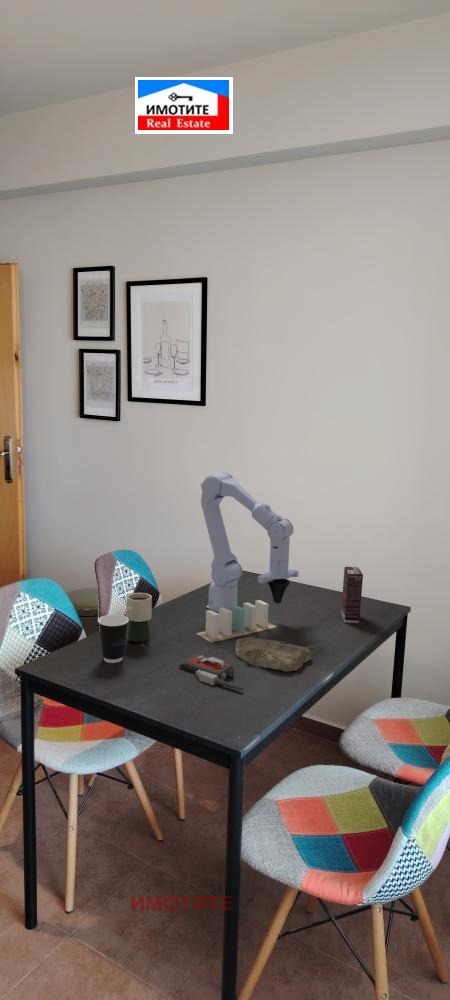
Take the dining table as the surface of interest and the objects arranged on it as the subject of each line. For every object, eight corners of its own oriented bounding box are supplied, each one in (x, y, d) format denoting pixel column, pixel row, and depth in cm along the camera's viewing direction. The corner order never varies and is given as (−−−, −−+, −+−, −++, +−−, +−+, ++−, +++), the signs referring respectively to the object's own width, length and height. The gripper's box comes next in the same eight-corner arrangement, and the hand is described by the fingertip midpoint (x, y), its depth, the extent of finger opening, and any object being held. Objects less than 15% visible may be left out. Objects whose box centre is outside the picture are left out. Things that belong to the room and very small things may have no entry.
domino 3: (251, 630, 208) (252, 607, 206) (242, 625, 211) (243, 603, 210) (255, 629, 209) (256, 606, 207) (246, 624, 212) (247, 602, 211)
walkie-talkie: (173, 674, 178) (240, 696, 168) (174, 657, 178) (240, 679, 167) (194, 662, 186) (259, 683, 175) (194, 647, 185) (259, 666, 174)
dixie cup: (121, 667, 180) (122, 626, 178) (93, 663, 182) (93, 623, 180) (132, 655, 188) (133, 616, 186) (104, 651, 190) (105, 613, 188)
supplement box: (360, 623, 218) (363, 574, 215) (344, 623, 218) (347, 573, 215) (355, 614, 226) (358, 566, 224) (340, 613, 227) (343, 566, 224)
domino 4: (263, 627, 210) (264, 604, 209) (254, 622, 214) (255, 600, 213) (267, 626, 211) (268, 604, 210) (258, 621, 215) (259, 599, 213)
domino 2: (226, 635, 203) (227, 612, 201) (218, 631, 206) (218, 608, 205) (231, 634, 203) (232, 611, 202) (222, 629, 207) (223, 607, 206)
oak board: (195, 635, 204) (195, 633, 204) (260, 620, 218) (260, 618, 217) (211, 644, 197) (211, 642, 197) (276, 628, 211) (276, 626, 211)
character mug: (138, 631, 205) (139, 589, 202) (159, 636, 202) (160, 593, 199) (117, 644, 195) (117, 599, 193) (138, 649, 192) (139, 604, 190)
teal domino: (239, 632, 205) (240, 610, 204) (230, 628, 209) (231, 605, 207) (243, 631, 206) (244, 609, 205) (234, 627, 210) (235, 604, 208)
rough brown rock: (223, 660, 188) (291, 677, 178) (223, 642, 187) (292, 658, 177) (247, 644, 200) (312, 659, 190) (248, 628, 199) (313, 642, 189)
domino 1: (214, 638, 200) (214, 615, 199) (205, 633, 203) (206, 610, 202) (218, 637, 201) (219, 614, 200) (210, 632, 204) (210, 609, 203)
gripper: (269, 565, 205) (267, 610, 208) (306, 559, 213) (303, 602, 216) (254, 560, 211) (252, 603, 213) (290, 554, 219) (288, 595, 222)
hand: (277, 602), depth 215 cm, fingers closed
